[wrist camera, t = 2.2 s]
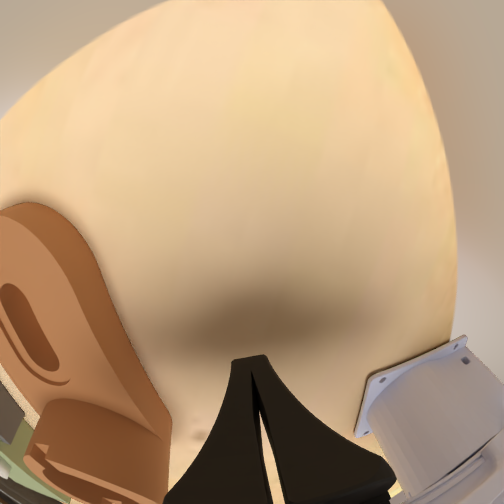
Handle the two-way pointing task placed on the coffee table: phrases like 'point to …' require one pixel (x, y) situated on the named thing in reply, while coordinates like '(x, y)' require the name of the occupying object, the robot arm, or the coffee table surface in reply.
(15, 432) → the green box with button
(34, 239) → the bracket
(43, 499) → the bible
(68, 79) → the coffee table surface
